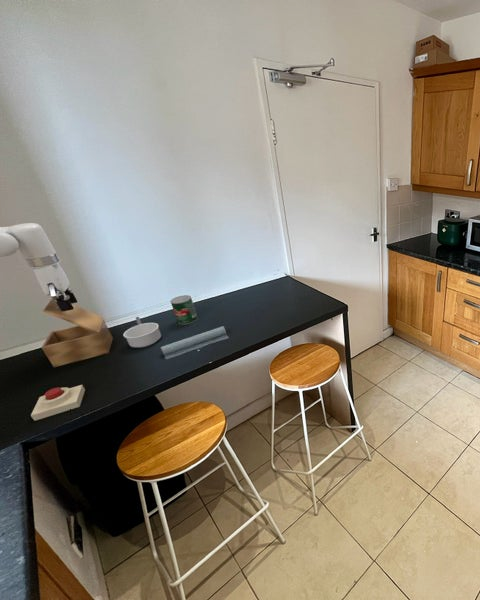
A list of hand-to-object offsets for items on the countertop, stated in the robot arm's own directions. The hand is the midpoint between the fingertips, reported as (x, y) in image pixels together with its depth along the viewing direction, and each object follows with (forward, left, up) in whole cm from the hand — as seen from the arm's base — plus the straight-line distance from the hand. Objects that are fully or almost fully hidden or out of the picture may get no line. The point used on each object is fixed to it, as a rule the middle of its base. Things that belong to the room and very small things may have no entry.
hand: (69, 306), depth 115 cm
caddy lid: (0, 0, -4) cm, 4 cm away
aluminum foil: (+35, -20, -20) cm, 44 cm away
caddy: (-2, 0, -20) cm, 20 cm away
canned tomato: (+33, +5, -20) cm, 39 cm away
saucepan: (+17, -1, -20) cm, 26 cm away
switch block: (-3, -33, -20) cm, 38 cm away
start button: (-3, -33, -16) cm, 36 cm away
